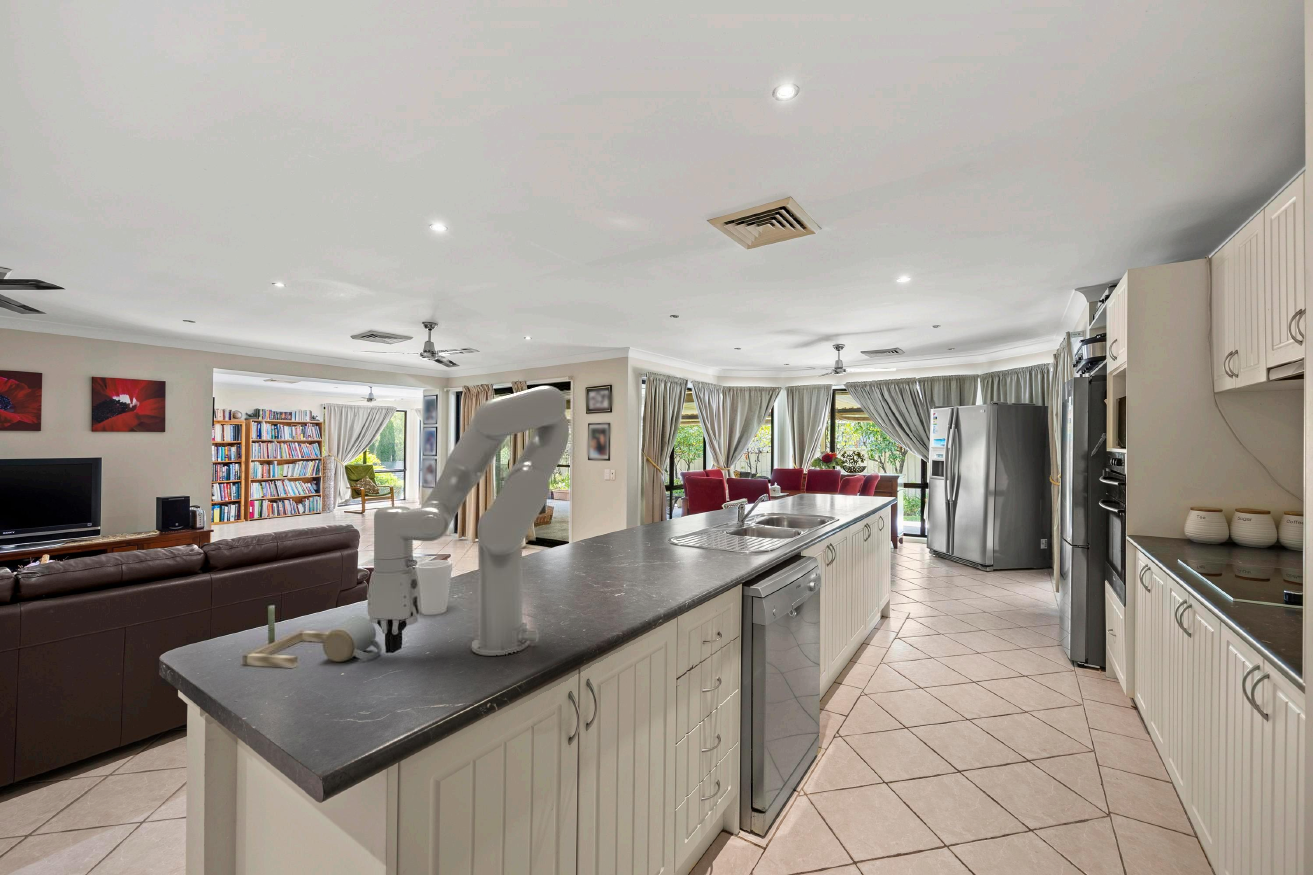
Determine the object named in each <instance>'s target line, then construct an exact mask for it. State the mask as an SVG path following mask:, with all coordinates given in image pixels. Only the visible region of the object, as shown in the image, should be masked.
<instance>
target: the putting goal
mask: <svg viewBox="0 0 1313 875" xmlns="http://www.w3.org/2000/svg"><path fill="white" fill-rule="evenodd" d="M275 607H276V605H274V604H273V605H267V618H268V619H267V639H268V640H267V644H266V645H264V646H261V647H259V648H257V649H254V650H252V651H249V652H247V653H245V654H242V655H241V656H242V666H255V667H267V668H268V667H271V668H286V669H294V668H296V667H297V666H298V655H286V654H285V655H284V654H283V655H282V654H276V653H278V652H281V651H282V650H283V651H284V650H285V649H287V648H289V647H288V646H290V647H292V646H294V645H296V644H295V643H297V644H299V643H301V642H309V641H312V642H313V641H314V642H313V643H323V641H324V639H325V637H326V635H327V634H328V633H329V632H330V631H315V630H300V631H296V632H295V633H292V634H290V635H288V636H287V635H286V636H285V637H283V638H280V639H278V640H276V637H275V636H276V634H275V633H276V630H275V628H276V619H275V618H276V617H275V616H276V614H275V612H276V611H275V610H276V609H275ZM275 640H276V641H275ZM300 641H301V642H300ZM298 642H299V643H298ZM293 644H294V645H293ZM291 645H292V646H291ZM286 647H287V648H286ZM284 648H285V649H284ZM280 650H281V651H280ZM273 653H274V654H273ZM271 654H272V655H271Z"/></svg>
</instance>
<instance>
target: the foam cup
mask: <svg viewBox="0 0 1313 875" xmlns="http://www.w3.org/2000/svg"><path fill="white" fill-rule="evenodd" d="M414 569H415V570H416V571H417V574H418V579H419V584H420V593H421V615H425V616H434V615H441V614H443V613H445V612H446V611H447V608H448V600H449V595H450V594H449V593H450V587H451V586H450V584H451V579H452V572H453V562H452V561H450V560H442V559H440V560H437V559H436V560H428V561H423V562H417V566H414Z"/></svg>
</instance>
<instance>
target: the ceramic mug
mask: <svg viewBox="0 0 1313 875" xmlns="http://www.w3.org/2000/svg"><path fill="white" fill-rule="evenodd" d="M328 632H329V633H328V634H327V635H326V637H325V639H324V641H323V642H322V649H323V652H324V654H325V656H326V657H327V658H328V659H329V660H331V661H333V662H338V663H343V662H344V661H345V662H346V661H348V660H351V659H353V658H355V657H356V658H357V659H361V660H369V661H370V660H374V659H376V658H378V657H379V656H380V654H381V652H382V649H383V648H382V644H381V643H380V642H379V641H378V640H377V639H376V638H377V630H376V626H374V623H372V622H370V621H369V618H367V617H365V616H363V615H355V616H352V617H350V618H348V619H347V620H346V621H344V622H342V623H341V624H340V625H337V626H336V627H334V628H333V629H332V630H330V631H328ZM371 647H373V648H375V650H377V651H375V652H366V650H368V649H369V648H371ZM364 651H365V652H364Z"/></svg>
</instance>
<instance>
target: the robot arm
mask: <svg viewBox="0 0 1313 875" xmlns="http://www.w3.org/2000/svg"><path fill="white" fill-rule="evenodd" d="M566 409H567V399H566V397H565V395H564V393H563V392H562V391H561V390H560V389H558V388H557V387H554V386H551V385H540V386H537V387H533V388H530V389H526V390H522V391H518V392H515V393H512V394H511V393H510V394H508V395H503V396H499V397H495V398H491V399H488V400H485V401H484V402H482V403H481V404H480V405H479V406H478V407H477V409H476V411H475V414H474V415H473V418H472V419H471V421H470V422H469V424H468V425H467V427H466V428H465V430H464V432H463V433H462V435H461V437H460V438H459V440H458V441H457V443H456V444H455V446H454V448H453V449H452V450H451V452H450V454H449V456H448V458H447V459H446V461H445V463H444V467H443V470H442V472H441V474H440V476H439V478H438V480H437V482H436V483H435V485H434V486H433V488H432V490H431V491H430V493H429V494H428V496H427V498H426V499H425V501H424V503H423V504H422V505H421V507H418V508H417V507H416V508H411V507H408V506H402V505H401V506H399V505H398V506H395V505H394V506H385V507H380V508H378V509H376V511H375V512H374V515H373V571H371V574H370V579H369V583H368V589H367V590H368V591H367V606H366V607H367V615H368V617H369V618H368V619H369V621H370V622H372V624H375V625H378V626H379V628H380V629H381V632H382V634H383V635H384V647H385V648H384V650H385V653H386V654H389V653H390V654H394V653H396V652H397V651H399V650H401V649H402V646H403V631H404V630H405V629H406V628H407V627H408V626H412V625H414V624H417V623H418V621H419V617H418V614H420V613H422V611H421V593H420V584H419V579H418V574H417V571H416V570H415V568H414V567H415V566H417V564H418V560H416V559H414V554H413V553H414V550H413V549H414V548H413V547H414V546H413V545H414V544H413V542H414V541H417V542H418V541H419V542H420V541H421V542H433V541H437V540H440V539H442V538H443V537H444V536H445V535H446V533H447V532H448V530H449V527H450V525H451V524H452V522H453V520H454V519H455V517H456V515H457V513H458V512H459V510H460V508H461V507H462V506H463V503H465V500H466V499H467V498H468V496H469V494H470V493H471V491H472V490H473V489H474V487H475V486H476V485H477V484H478V483H479V482H480V481H481V479H482V478H483V477H484V476H485V474H486V472H487V470H488V469H489V467H490V465H491V464H492V462H493V461H494V458H495V457H496V455H497V454H498V452H499V451H500V449H501V447H502V446H503V444H504V443H505V440H506V439H507V437H510V436H512V435H516V434H520V433H524V432H527V431H530V430H532V433H531V434H530V437H529V439H528V441H527V443H526V445H525V447H524V448H523V450H522V452H521V454H520V455H519V457H518V459H517V460H516V462H515V463H514V465H513V467H512V468H511V469H510V470H509V471H508V473H507V475H506V476H505V477H504V478H505V479H504V482H503V485H502V487H501V489H500V490H499V492H498V494H497V495H496V496H495V499H494V500H493V502H492V504H491V505H490V507H489V508H488V509H486V510H485V511H484V512H483V513H482V514H481V516H480V517H479V520H478V523H477V544H478V545H477V549H478V551H477V552H478V554H477V557H478V559H477V560H478V573H477V574H478V580H477V581H478V582H477V583H478V585H477V586H478V588H477V589H478V591H477V592H478V637H477V638H475V639H474V640H473V641H472V642H471V651H472V652H473V653H475V654H477V655H481V656H487V657H488V656H489V657H490V656H491V657H492V656H495V657H496V655H497V656H505V654H506V655H509V654H508V653H511V654H514V653H513V652H515V653H518V652H520V651H522V650H525V649H526V648H527V647H528V646H529V645H530V642H538V641H539V639H540V633H539V631H538V630H539V629H529V628H528V627H527V622H523V551H522V550H523V548H522V546H523V545H522V544H523V542H524V540H525V538H526V537H527V535H528V533H529V531H530V530H531V527H532V526H533V525H534V523H535V521H536V520H537V518H538V516H539V514H540V512H542V511H541V510H542V509H543V507H544V506H545V504H546V502H547V499H548V497H549V494H550V489H551V488H550V487H551V486H550V485H551V484H550V480H551V477H552V476H553V474H554V472H555V471H556V468H557V467H558V465H559V463H560V462H561V459H562V458H563V455H564V453H565V451H566V448H567V445H568V444H569V443H568V442H569V439H570V438H569V436H570V435H569V434H570V428H569V422H568V419H567V415H566V411H567V410H566ZM517 651H518V652H517Z"/></svg>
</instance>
